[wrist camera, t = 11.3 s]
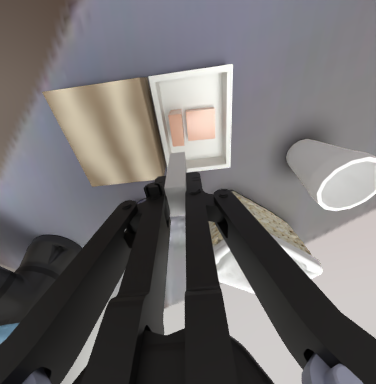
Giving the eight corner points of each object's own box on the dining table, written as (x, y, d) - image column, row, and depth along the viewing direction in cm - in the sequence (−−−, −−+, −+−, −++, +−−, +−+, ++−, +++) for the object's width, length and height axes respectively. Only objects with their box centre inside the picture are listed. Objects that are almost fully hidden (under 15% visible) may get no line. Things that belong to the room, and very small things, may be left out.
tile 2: (172, 146, 29) (184, 145, 29) (168, 115, 26) (181, 113, 26) (174, 137, 33) (184, 136, 33) (170, 109, 30) (181, 108, 30)
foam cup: (270, 169, 38) (304, 206, 27) (292, 126, 33) (345, 151, 22) (308, 176, 39) (355, 214, 28) (335, 136, 34) (405, 164, 23)
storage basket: (293, 222, 48) (330, 273, 36) (251, 252, 55) (270, 302, 43) (230, 183, 40) (250, 230, 28) (191, 224, 48) (193, 275, 35)
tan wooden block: (104, 172, 38) (92, 186, 33) (66, 89, 29) (42, 92, 24) (166, 165, 37) (162, 178, 32) (147, 77, 28) (139, 77, 23)
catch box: (170, 164, 37) (168, 174, 33) (153, 76, 28) (148, 76, 24) (225, 158, 36) (230, 167, 32) (226, 65, 27) (232, 63, 23)
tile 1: (215, 138, 31) (213, 135, 33) (215, 108, 28) (213, 106, 30) (188, 141, 31) (188, 137, 33) (185, 111, 28) (185, 109, 30)
